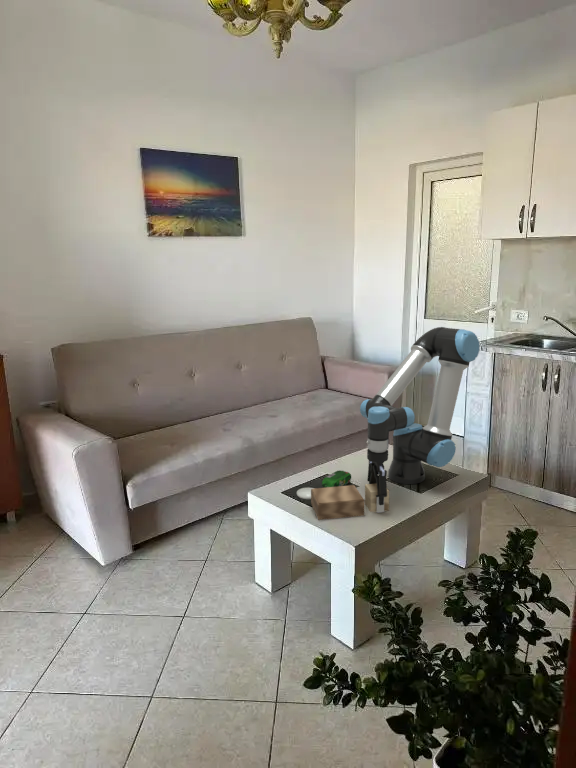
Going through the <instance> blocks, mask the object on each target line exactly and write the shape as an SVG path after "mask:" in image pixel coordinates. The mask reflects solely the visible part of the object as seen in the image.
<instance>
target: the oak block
mask: <svg viewBox="0 0 576 768" xmlns="http://www.w3.org/2000/svg"><path fill="white" fill-rule="evenodd" d="M364 485H365V486H364V500H365V501H364V506H365V507H366V508H367V509H368V511H369V512H370V513H377V512H376V503H377V497H376V495H378V493H377V483H376V484H369V483H368V484H367V483H366V484H364ZM387 511H390V489H389V488H388V487H387V497H384V512H387Z"/></svg>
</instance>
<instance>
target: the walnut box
mask: <svg viewBox="0 0 576 768" xmlns="http://www.w3.org/2000/svg"><path fill="white" fill-rule="evenodd" d="M310 504H311V506H312V509H313V511H314V514H315V513H316V514H315V516H316V519H317V520H318V521H320V520H321V521H323V520H330V519H342V518H351V517H361V516H362V517H363V516H365V498H364V497H363V495H362V494H361V493H360V491H359V490H358V489H357V487H356V486H355V485H354V484H352V485H345V486H338V487H327V488H325V487H317V488H315V489H311V499H310Z"/></svg>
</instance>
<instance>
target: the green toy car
mask: <svg viewBox="0 0 576 768" xmlns="http://www.w3.org/2000/svg"><path fill="white" fill-rule="evenodd" d="M351 480H352V474H351V472H348V471H344V470H339V469H338V470H336V471H334V472H333V473H331V474H329V475H326V476H324V478H323V479H322V481H321V486H322V488H327V487H338V486H347V485H348V484H349V483H350V482H351Z"/></svg>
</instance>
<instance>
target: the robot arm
mask: <svg viewBox="0 0 576 768" xmlns="http://www.w3.org/2000/svg"><path fill="white" fill-rule="evenodd" d="M479 352H480V341H479V338H478V336H477V335H476V333H475V332H473V331H471V330H467V329H462V328H452V327H451V328H450V327H445V326H440V327H439V326H438V327H434V328H431V329H430V330H428V331H427V332H425V333H423V335H421V336H420V337H418V338H417V340H416V341H415V342H414V343H413V344H412V346H410V352H409V353H408V354H407V356H406V357H405V358H404V359H403V361H402V362H401V363H400V364H399V365H398V367H397V368H396V369H395V370H394V372H393V373H392V374H391V375H390V376H389V378H388V379H387V380H386V382H385V383H384V384H383V385H382V386H381V388H380V389H379V390H378V392H377V393H376V394H375V395H374V397H373V398H371V399H370V398H367V399H365V400H363V401H362V402H361V404H360V406H359V412H360V414H361V416H362V417H364V419H367V421H366V422H367V441H365V442H366V444H367V449H366V453H367V455H366V458H367V461H368V470H367V482H368V484H376V483H377V493H378V495H376V497H377V503H376V512H375V513H384V512H385V511H384V497H387V488H388V487H387V486H388V485H387V476H388V478H389V480H391V481H392V482H394V483H398V484H403V485H416V484H419V483H423V482H424V481H425V479H426V472H425V469H424V465H423V462H424V463H426V464H428V465H429V466H433V467H437V468H443V467H445V466H447V465H448V464H449V463H450V462H451V461H452V460H453V458H454V456H455V453H456V451H457V450H456V447H457V446H456V443H455V442H454V441H453V440H452V439H453V433H452V432H451V430H450V428H451V424H452V420H453V416H454V412H455V408H456V404H457V399H458V396H459V391H460V386H461V383H462V378H463V374H464V371H465V369H466V370H467V368H468V367H469V365H470V363H471V362H474V361H475V360H476V358H477V357H478V356H479ZM436 357H438V359H437V360H438V362H439V364H440V369H439V372H438V378H437V381H436V386H435V390H434V394H433V397H432V398H433V399H432V402H431V403H432V404H431V408H430V412H429V417H428V420H427V424H426V425H424V426H423V425H422V424H420V423H416V422H415V417H416V416H415V412H414V410H413V409H412V408H411V407H408V406H401V407H396V406H393V405H394V404H395V402H396V401H397V400H398V399H399V397H400V396H401V395H402V394H403V393H404V392H405V390H406V388H407V387H408V386H409V385H410V384H411V382H412V381H413V380H414V378H415V377H416V376H417V375H418V374H419V372H420V371H421V370H422V368H423V367H424V366H425V364H427V363H430V362H431V361H432V360H433V359H434V358H436ZM414 422H415V423H414ZM390 432H393V435H392V461H391V463H390V464H389V465H390V466H389V468H388V471H387V470H386V469H385V466H384V463H385V462H387V461H388V459H389V446H390V442H389V441H390V439H389V436H390V435H389V433H390Z"/></svg>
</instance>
